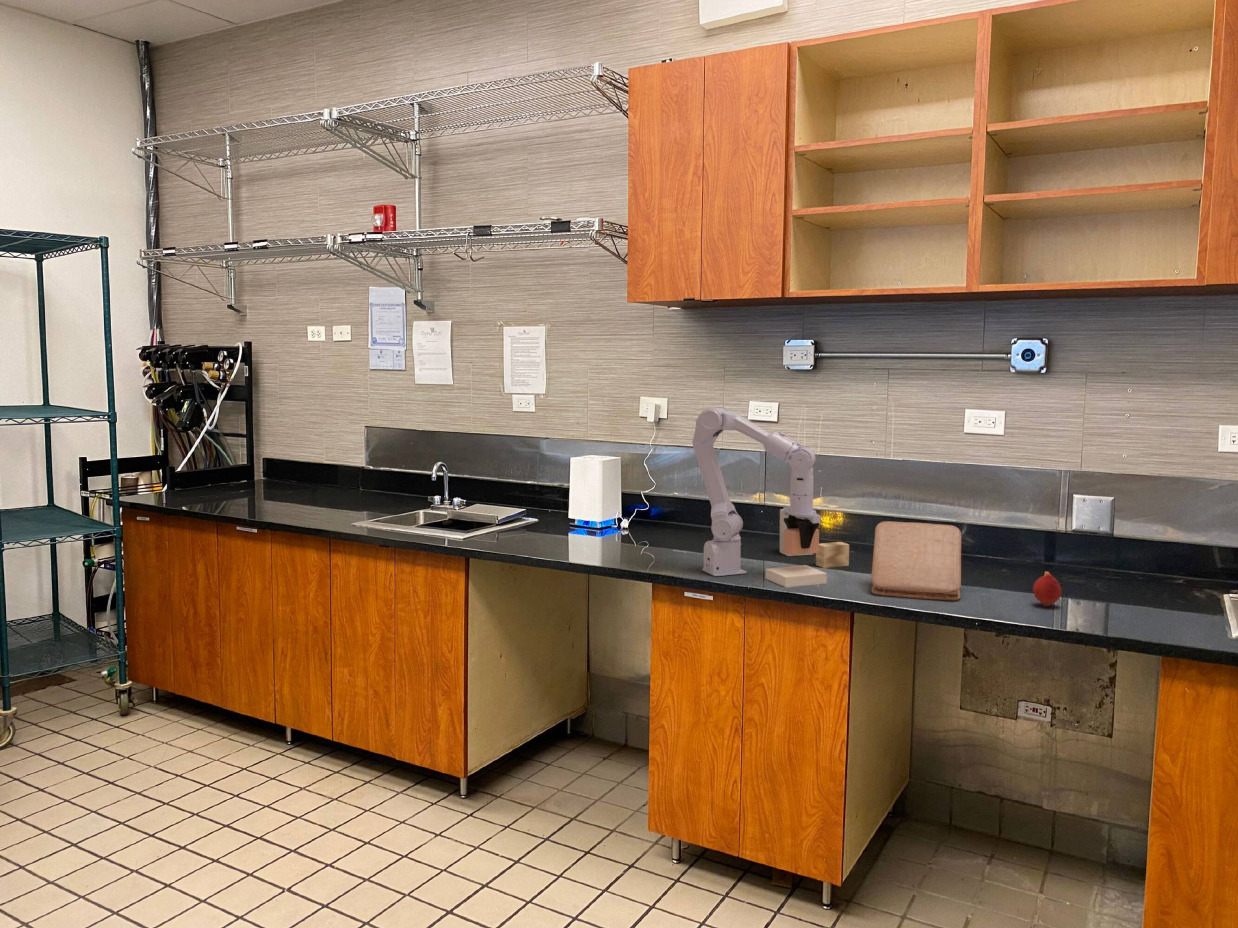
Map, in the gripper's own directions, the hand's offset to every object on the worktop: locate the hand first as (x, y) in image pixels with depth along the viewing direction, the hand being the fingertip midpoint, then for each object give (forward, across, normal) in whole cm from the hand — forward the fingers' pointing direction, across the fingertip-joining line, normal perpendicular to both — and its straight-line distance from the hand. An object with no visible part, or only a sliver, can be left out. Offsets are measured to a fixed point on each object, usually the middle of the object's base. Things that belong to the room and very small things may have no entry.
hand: (800, 546), depth 230 cm
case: (+9, -20, -20) cm, 30 cm away
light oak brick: (+8, +10, -17) cm, 21 cm away
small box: (+9, +27, -16) cm, 33 cm away
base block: (+9, -2, +2) cm, 9 cm away
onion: (+8, -44, -37) cm, 58 cm away
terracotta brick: (+2, 0, 0) cm, 2 cm away
